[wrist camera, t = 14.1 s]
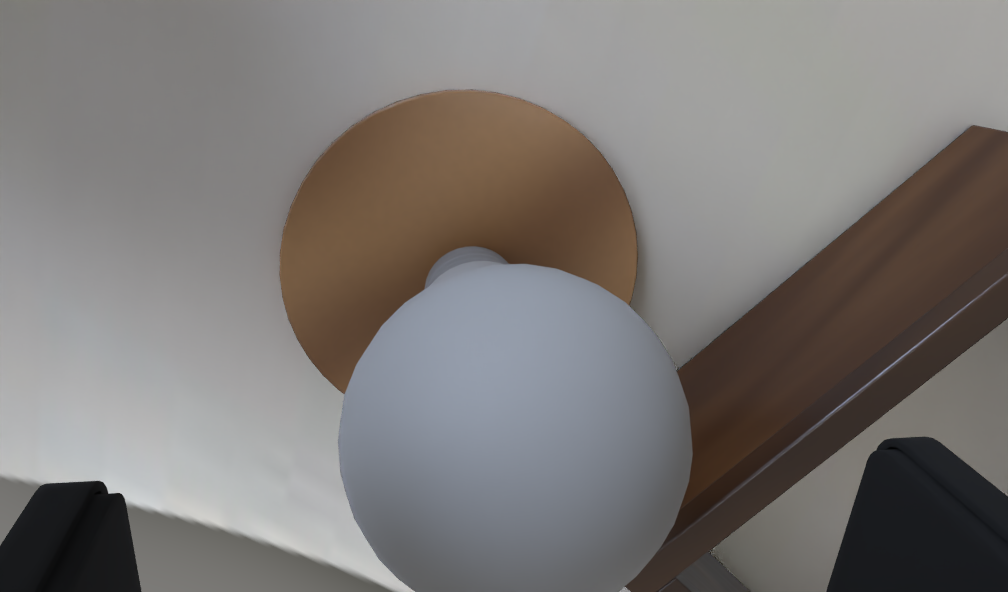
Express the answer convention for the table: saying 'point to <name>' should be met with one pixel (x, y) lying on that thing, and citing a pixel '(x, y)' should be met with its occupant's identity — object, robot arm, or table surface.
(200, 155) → the table surface
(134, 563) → the robot arm
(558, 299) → the lightbulb
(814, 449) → the wooden frame
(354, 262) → the coaster
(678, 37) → the table surface
